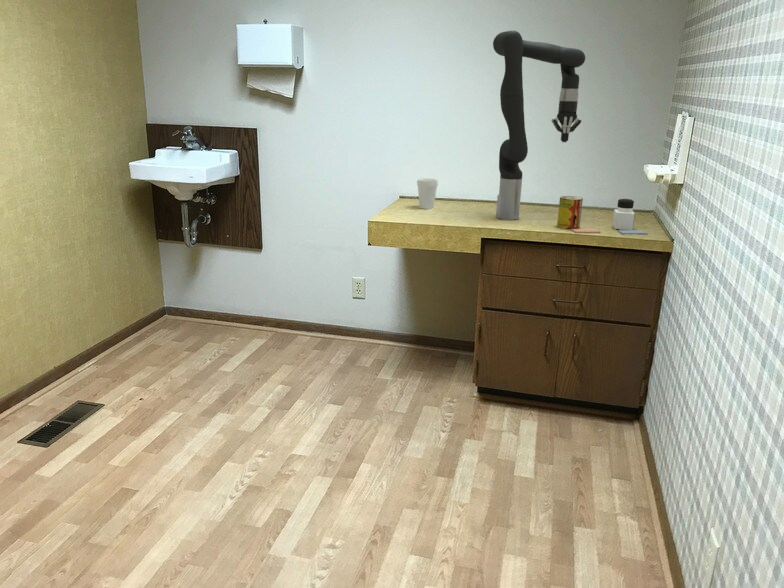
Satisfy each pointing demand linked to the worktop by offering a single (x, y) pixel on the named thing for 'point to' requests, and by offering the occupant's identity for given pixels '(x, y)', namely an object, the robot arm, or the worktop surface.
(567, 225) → the yellow red tin can
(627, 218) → the medicine bottle
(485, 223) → the worktop surface
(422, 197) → the foam cup
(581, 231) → the terracotta tag
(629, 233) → the slate-blue tag
